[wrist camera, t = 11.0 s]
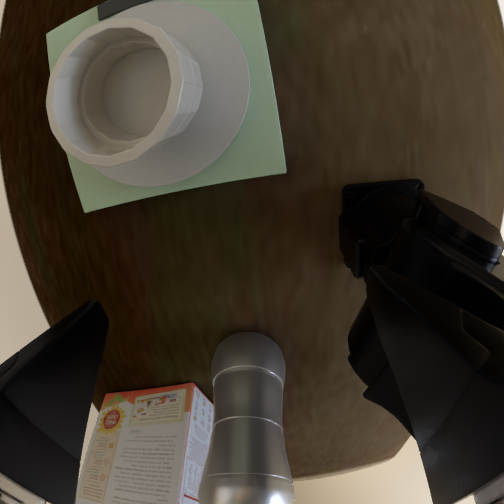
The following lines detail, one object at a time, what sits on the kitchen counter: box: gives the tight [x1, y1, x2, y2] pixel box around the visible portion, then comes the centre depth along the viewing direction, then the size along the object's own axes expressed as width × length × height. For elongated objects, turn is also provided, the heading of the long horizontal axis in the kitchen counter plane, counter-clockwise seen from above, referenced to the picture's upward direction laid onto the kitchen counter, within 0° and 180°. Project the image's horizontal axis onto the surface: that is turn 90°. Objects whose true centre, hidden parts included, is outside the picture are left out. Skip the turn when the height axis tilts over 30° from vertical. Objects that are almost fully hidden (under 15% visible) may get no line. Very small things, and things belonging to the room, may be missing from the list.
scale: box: [46, 0, 287, 213], centre depth 15 cm, size 14×14×3 cm
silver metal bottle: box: [198, 332, 295, 504], centre depth 18 cm, size 6×7×20 cm
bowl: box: [46, 18, 203, 167], centre depth 12 cm, size 7×7×5 cm
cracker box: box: [75, 383, 214, 504], centre depth 23 cm, size 14×6×21 cm, turn 111°
